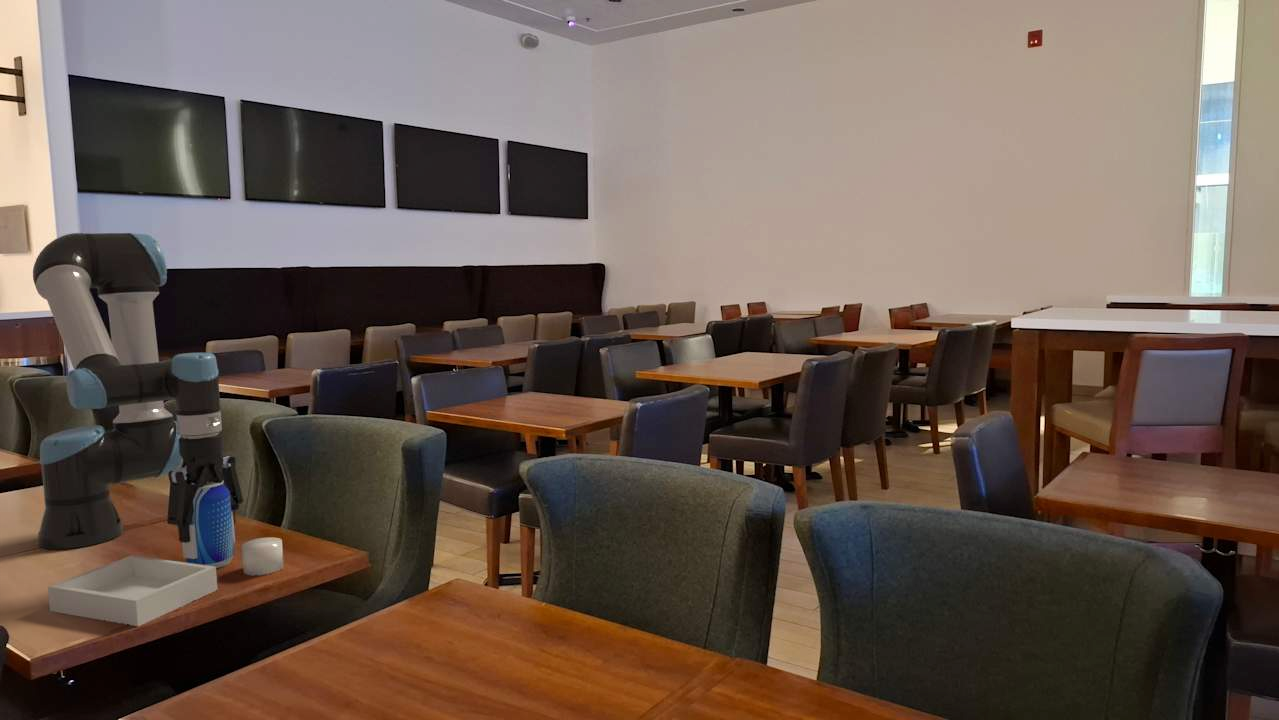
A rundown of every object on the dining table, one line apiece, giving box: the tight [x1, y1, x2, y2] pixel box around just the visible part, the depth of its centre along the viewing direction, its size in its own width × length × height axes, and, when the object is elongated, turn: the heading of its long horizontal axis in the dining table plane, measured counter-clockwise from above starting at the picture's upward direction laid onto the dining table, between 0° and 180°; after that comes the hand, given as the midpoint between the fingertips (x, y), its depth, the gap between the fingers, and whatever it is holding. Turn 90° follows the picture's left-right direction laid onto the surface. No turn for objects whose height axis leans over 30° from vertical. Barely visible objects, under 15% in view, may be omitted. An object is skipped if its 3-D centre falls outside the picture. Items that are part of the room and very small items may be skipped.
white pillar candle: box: [241, 536, 285, 576], centre depth 164 cm, size 7×7×5 cm
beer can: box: [184, 480, 235, 569], centre depth 166 cm, size 8×8×16 cm
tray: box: [47, 554, 218, 627], centre depth 150 cm, size 20×16×4 cm
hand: (209, 549), depth 167 cm, fingers closed on beer can, 8 cm apart
